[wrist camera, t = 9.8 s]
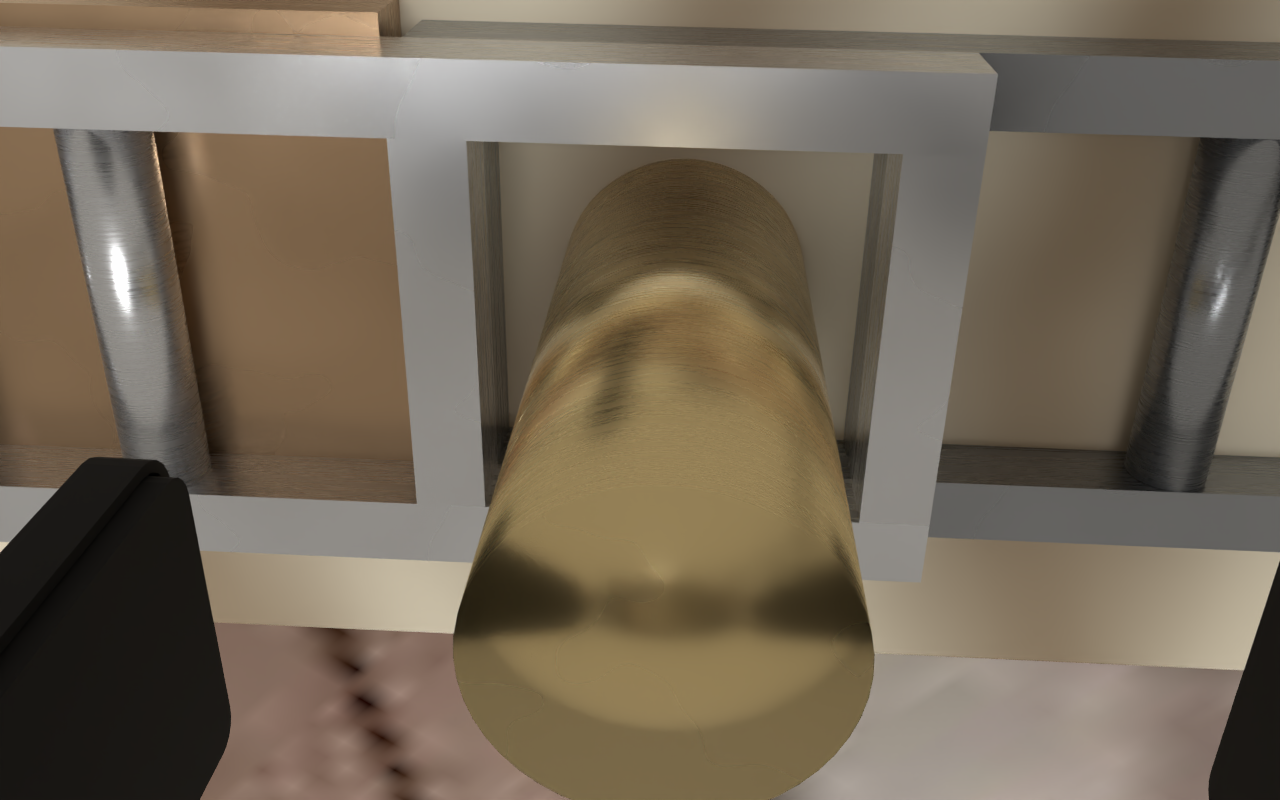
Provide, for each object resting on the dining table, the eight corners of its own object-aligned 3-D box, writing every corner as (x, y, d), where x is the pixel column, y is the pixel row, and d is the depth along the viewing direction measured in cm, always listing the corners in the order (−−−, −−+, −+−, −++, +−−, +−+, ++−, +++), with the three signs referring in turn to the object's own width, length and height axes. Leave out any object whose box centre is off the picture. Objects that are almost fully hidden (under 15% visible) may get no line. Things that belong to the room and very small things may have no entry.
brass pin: (812, 162, 17) (896, 497, 9) (794, 385, 19) (852, 828, 11) (563, 154, 18) (439, 478, 10) (566, 377, 19) (463, 809, 11)
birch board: (1637, -229, 16) (1694, -229, 15) (1330, 638, 22) (1356, 675, 21) (-186, -261, 16) (-237, -263, 16) (37, 580, 23) (10, 613, 22)
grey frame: (1589, 50, 16) (1650, 70, 15) (1415, 516, 20) (1455, 559, 19) (421, 20, 17) (402, 36, 16) (452, 476, 20) (437, 516, 19)
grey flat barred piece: (964, 10, 16) (1002, 48, 14) (896, 510, 20) (918, 599, 18) (-167, -18, 17) (-294, 13, 15) (-30, 471, 21) (-114, 552, 19)
